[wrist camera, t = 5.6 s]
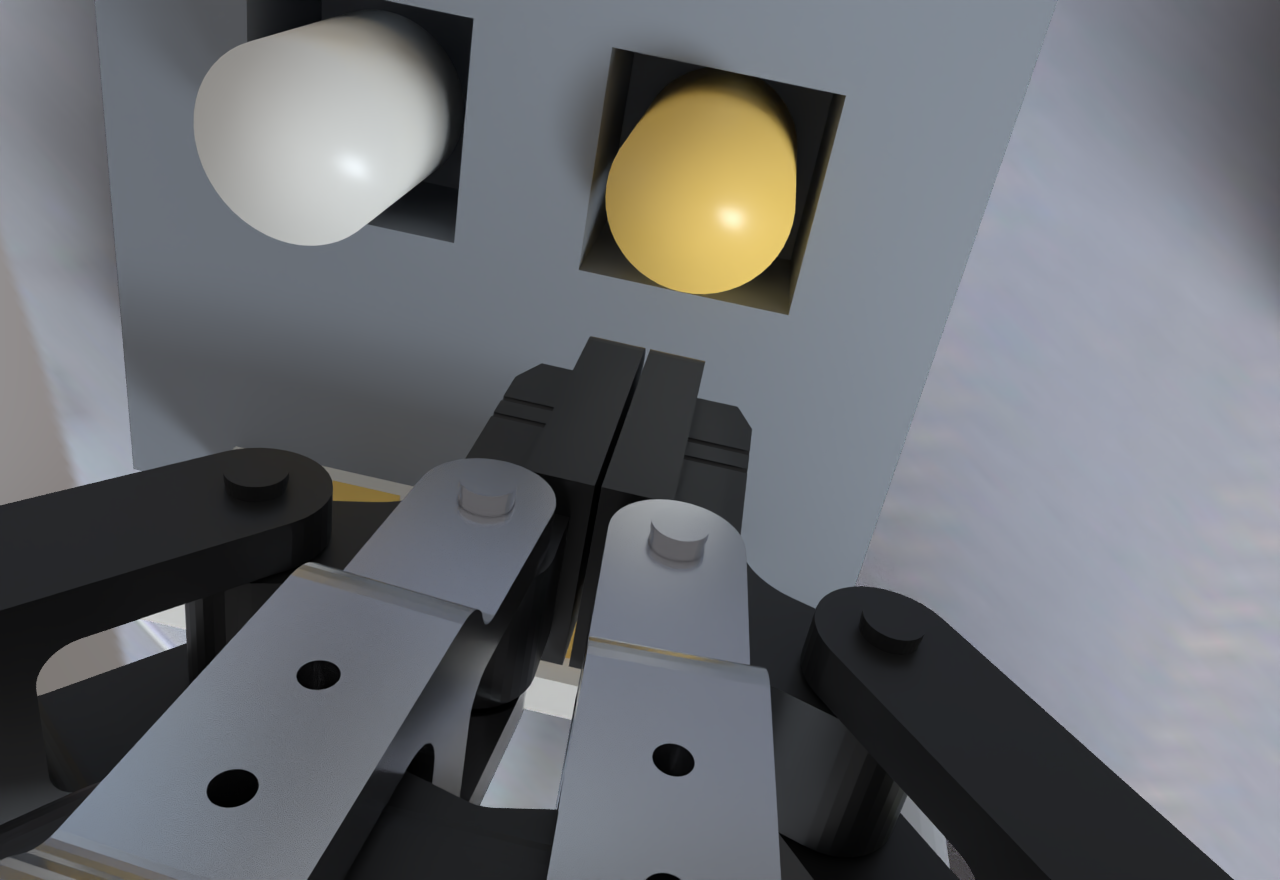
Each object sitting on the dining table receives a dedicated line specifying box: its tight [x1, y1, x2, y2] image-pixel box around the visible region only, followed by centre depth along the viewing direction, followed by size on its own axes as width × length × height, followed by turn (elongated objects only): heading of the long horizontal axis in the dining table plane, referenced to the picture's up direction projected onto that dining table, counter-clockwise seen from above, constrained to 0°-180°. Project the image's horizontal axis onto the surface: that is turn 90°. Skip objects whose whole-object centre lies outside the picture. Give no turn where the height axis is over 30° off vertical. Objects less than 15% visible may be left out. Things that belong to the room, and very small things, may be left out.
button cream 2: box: [194, 10, 464, 246], centre depth 22 cm, size 4×4×5 cm
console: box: [94, 0, 1058, 720], centre depth 22 cm, size 20×24×10 cm
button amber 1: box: [605, 67, 797, 294], centre depth 24 cm, size 4×4×5 cm
